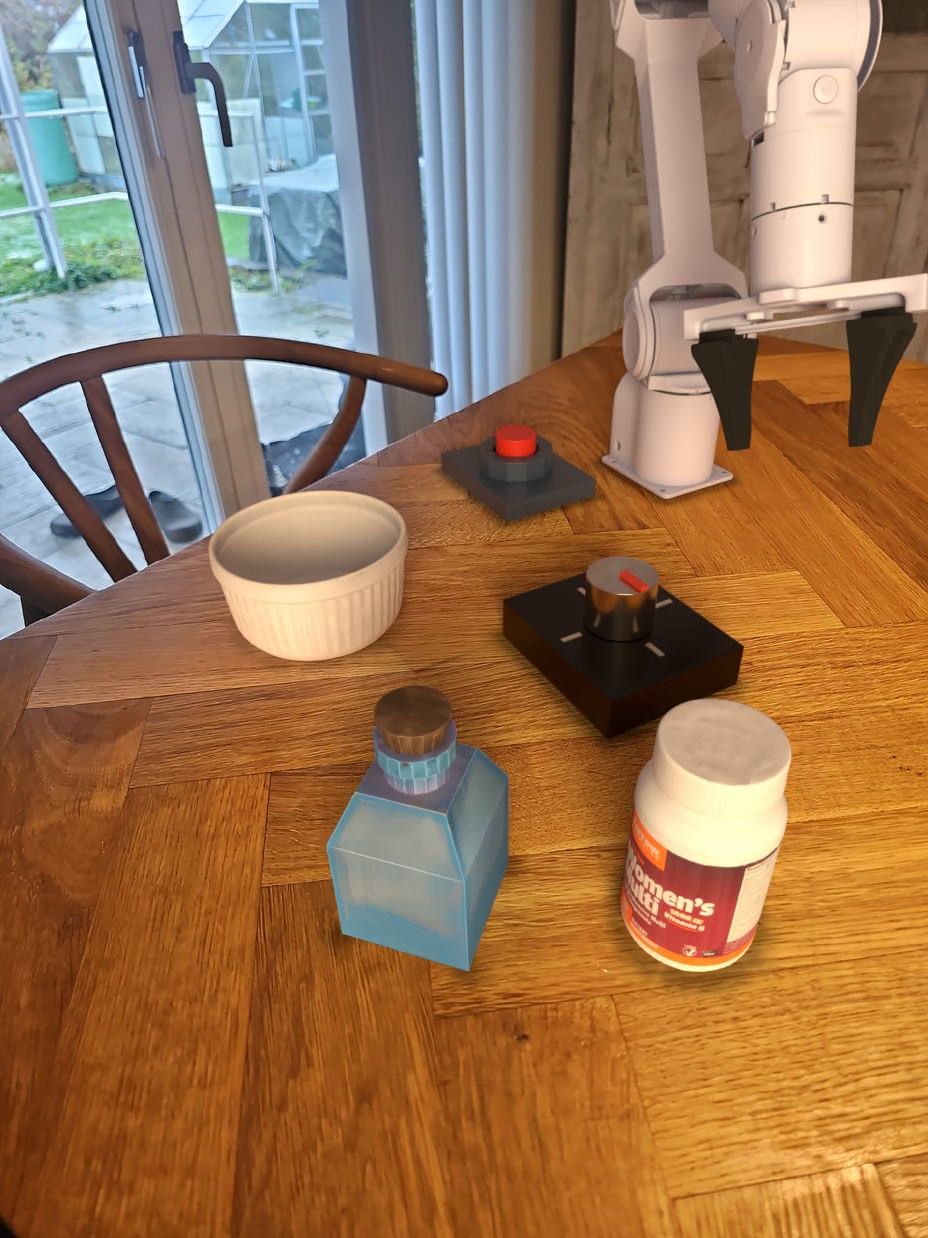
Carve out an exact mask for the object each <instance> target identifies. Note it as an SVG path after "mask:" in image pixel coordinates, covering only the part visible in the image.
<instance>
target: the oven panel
mask: <svg viewBox="0 0 928 1238" xmlns="http://www.w3.org/2000/svg"><path fill="white" fill-rule="evenodd" d="M586 573H587V571H584V572H581V573H577V574H575V575H572V576H568V577H565V578H563V579H560V580H557V581H554V582H551V583H547V584H544V585H542V586H539V587H536V588H533V589H530V590H527V591H524V592H522V593H519V594H514V595H512V596H509V597H506V598H504V599H502V636H503V637H504V638H505V639H506V640H507V641H508V642H509V643H510V644H511V645H512V646H513V647H514V648H515V649H516V650H517V651H518V652H519V653H520V654H521V655H522V656H523V657H524V658H525V659H526V660H527V661H528V662H529V663H530V664H531V665H532V666H533V667H534V668H535V669H536V670H537V671H539V673H540V674H541V675H542V676H543V677H544V678H545V679H546V680H547V681H548V682H550V684H551V685H552V686H553V687H554V688H555V689H556V690H558V691H559V693H560V694H562V696H564V698H566V700H567V701H569V703H570V704H571V705H572V706H573V707H574V708H575V709H577V711H579V713H581V714H582V716H584V717H585V719H586V720H587V721H589V722H590V723H591V724H592V725H593V727H594V728H596V729H597V730H598V731H599V732H600V733H601V734H602V735H603V737H605V738H606V739H607V740H610V739H612V738H615V737H617V736H619V735H622V734H624V733H627V732H628V731H631V730H633V729H636V728H638V727H641V726H642V725H645V724H648V723H650V722H652V721H654V720H656V719H659V718H661V717H664V715H665V714H666V713H667V712H668V711H670V710H671V709H672V708H674V707H676V706H678V705H679V704H682V703H685V702H688V701H692V700H697V699H706V698H708V697H710V696H712V695H715V694H717V693H719V692H721V691H723V690H727V689H729V688H731V687H733V686H735V685H737V684H738V679H739V674H740V670H741V665H742V660H743V654H744V650H745V646H744V645H743V644H742V643H740V642H739V641H738V640H736V639H735V638H734V637H732V636H730V635H729V634H728V633H727V632H725V631H723V630H722V629H721V628H720V627H718V626H717V625H715V624H714V623H713V622H711V621H710V620H709V619H707V618H706V617H704V616H703V615H701V614H700V613H699V612H697V611H696V610H695V609H694V608H692V607H690V606H689V605H687V604H686V603H685V602H683V601H682V600H681V599H680V598H678V597H677V596H675V595H674V594H673V593H671V592H670V591H668V590H667V589H666V588H664V587H663V586H661V585H660V584H658V592H657V600H656V608H655V616H654V624H653V628H652V630H651V631H650V632H649V633H648V634H647V635H646V636H644V637H642V638H640V639H636V640H632V641H612V640H607V639H604V638H601V637H599V636H597V635H595V634H593V633H592V632H591V631H589V630H588V629H587V627H586V626H585V624H584V603H585V587H586Z"/></svg>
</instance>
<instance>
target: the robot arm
mask: <svg viewBox="0 0 928 1238" xmlns="http://www.w3.org/2000/svg"><path fill="white" fill-rule="evenodd" d="M608 1H609V13H610V23H611V29H612V30H613V36H614V37H613V38H614V45H615V47H616V48H618V49H619V50H620V51H621V52H622V53H624V54H625V55H626V56H627V57H629V58H630V59H632V61H633V68H634V75H635V82H636V89H637V95H638V105H639V116H640V126H641V128H640V129H641V139H642V140H641V141H642V150H643V161H644V172H645V173H644V175H645V182H646V183H645V184H646V185H645V186H646V194H647V195H646V196H647V206H648V216H649V227H650V228H649V229H650V239H651V240H650V241H651V250H652V252H651V253H652V261H653V263H652V264H651V265H649V266H648V267H647V268H646V269H645V270H644V271H643V272H642V273H641V274H639V275H638V276H637V277H636V278H635V279H634V280H633V282H631V284H630V286H629V287H628V289H627V292H626V294H625V297H624V299H623V307H622V308H623V325H622V336H621V337H622V338H621V347H622V348H621V349H622V356H623V362H624V365H625V368H626V370H627V372H625V374H624V375H623V376H622V378H621V379H620V381H619V382H618V384H617V386H616V389H615V391H614V396H613V402H612V416H611V429H610V440H609V441H610V443H609V453H608V454H606V455H603V456H601V462H602V463H603V464H605V465H607V466H608V467H609V468H611V469H613V470H615V471H616V472H618V473H619V474H621V475H623V476H624V477H626V478H627V479H630V480H631V481H633V482H635V483H636V484H638V485H639V486H641V487H643V488H645V490H648V491H649V492H651V493H653V494H655V495H656V496H658V497H659V498H661V499H664V500H669V499H673V498H676V497H679V496H682V495H686V494H689V493H692V492H695V491H699V490H701V489H705V488H709V487H712V486H715V485H718V484H722V483H723V482H724V483H725V482H728V481H731V480H732V479H733V478H734V474H733V472H732V471H729V470H727V469H726V468H723V467H722V466H720V465H717V464H715V463H714V462H715V455H716V449H717V442H718V435H719V430H720V424H721V427H722V431H723V436H724V440H725V446H726V451H727V452H738V451H744V450H750V449H751V443H752V391H753V382H754V374H755V366H756V361H757V356H758V351H759V346H760V339H759V338H758V333H765V332H773V331H780V330H781V331H782V330H788V329H789V330H790V329H796V328H804V327H813V326H820V325H827V324H836V323H842V322H845V331H846V340H847V347H848V348H847V349H848V360H849V376H850V377H849V378H850V379H849V380H850V397H849V410H848V423H847V424H848V425H847V437H848V438H847V439H848V448H858V447H860V448H861V447H866V446H872V443H873V438H874V433H875V429H876V425H877V420H878V418H879V413H880V410H881V407H882V404H883V402H884V398H885V396H886V393H887V390H888V387H889V386H890V383H891V381H892V378H893V376H894V373H895V372H896V370H897V367H898V366H899V364H900V361H901V360H902V358H903V356H904V354H905V352H906V351H907V348H908V347H909V346H910V343H911V342H912V340H913V338H914V337H915V334H916V332H917V328H918V323H917V322H914V317H913V315H916V314H923V313H924V314H925V313H928V273H926V272H924V273H917V274H910V275H905V276H904V275H903V276H902V275H901V276H896V277H888V278H879V279H869V280H862V281H853V282H852V265H853V264H852V263H853V262H852V261H853V236H854V235H853V230H854V203H855V173H856V170H855V169H856V141H857V140H856V139H857V138H856V136H857V114H858V113H857V112H858V111H857V109H858V108H857V107H858V93H859V92H860V91H861V89H863V86H864V85H865V83H866V82H867V80H868V78H869V76H870V75H871V72H872V70H873V68H874V65H875V62H876V59H877V55H878V52H879V49H880V48H879V47H880V44H881V39H882V29H883V3H882V0H608ZM723 40H724V41H725V43H726V44H727V45H728V47H729V48H730V49H731V50H732V52H733V53H734V54H735V56H734V57H735V58H734V64H733V82H734V83H733V85H734V89H735V90H734V91H735V93H736V97H737V99H738V101H739V104H740V110H741V133H743V138H744V140H747V141H749V142H750V256H749V257H750V259H749V260H750V261H749V262H750V264H749V265H750V266H749V267H750V268H749V269H750V270H749V272H750V273H749V290H748V285H747V281H746V275H745V273H744V272H743V271H742V270H740V269H739V268H738V267H736V266H735V265H734V264H732V263H731V262H729V261H728V260H726V259H725V258H723V257H721V255H719V254H718V253H717V252H716V251H715V248H714V238H713V237H714V236H713V226H712V215H711V214H712V213H711V204H710V193H709V191H710V190H709V181H708V169H707V160H706V158H707V157H706V148H705V136H704V127H703V124H704V123H703V115H702V104H701V94H700V91H701V90H700V81H699V70H698V64H699V61H700V59H701V57H702V56H704V55H706V54H707V53H708V52H710V51H711V50H713V49H714V48H716V47H717V46H718V45H720V44H721V43H722V42H723ZM748 291H749V292H748ZM822 310H827V311H834V313H825V314H820V315H812V316H805V317H797V318H791V319H790V318H789V319H782V320H775V321H773V320H774V316H782V315H790V314H799V313H800V314H801V313H808V312H816V311H822Z"/></svg>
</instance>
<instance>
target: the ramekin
mask: <svg viewBox="0 0 928 1238" xmlns="http://www.w3.org/2000/svg"><path fill="white" fill-rule="evenodd" d="M408 534H409V533H408V528H407V523H406V520H405V518H404V517H403V515H402V514H401V513H400V512H399V511H398V510H397V509H396V508H395V507H394V506H392V505H391V504H389V503H388V502H386V501H384V500H382V499H379V498H377V497H374V496H371V495H369V494H364V493H358V492H354V491H347V490H338V489H337V490H336V489H335V490H333V489H328V490H326V489H321V490H307V491H298V492H292V493H286V494H282V495H277V496H274V497H269V498H267V499H263V500H261V501H258V502H255V503H252V504H250V505H248V506H246V507H244V508H242V509H240V510H238V511H237V512H235V513H233V514H232V515H230V516H229V517H228V518H226V519H224V521H223V522H221V524H220V525H218V526H217V527H216V529H215V530H214V532H213V534H212V535H211V537H210V539H209V542H208V557H209V563H210V568H211V571H212V573H213V575H214V577H215V578H216V580H217V581H218V582H219V584H220V587H221V589H222V592H223V595H224V599H225V601H226V604H227V606H228V608H229V611H230V614H231V616H232V619H233V621H234V623H235V626H236V627H237V629H238V632H240V634H241V635H242V636H243V637H244V639H245V640H247V641H248V642H249V643H250V644H251V645H253V646H254V647H256V648H258V649H259V650H261V651H263V652H264V653H266V654H268V655H270V656H274V657H277V658H280V659H284V660H288V661H289V660H290V661H297V662H298V661H301V662H316V661H327V660H331V659H332V660H333V659H335V658H340V657H343V656H345V657H346V656H348V655H351V654H354V653H356V652H358V651H360V650H363V649H365V648H366V647H368V646H370V645H371V644H373V643H375V642H376V641H377V640H378V639H380V638H381V637H382V636H383V635H384V634H385V633H386V632H387V631H388V630H389V629H390V627H391V626H393V623H394V622H395V621H396V619H397V617H398V615H399V613H400V611H401V608H402V602H403V596H404V584H405V582H404V581H405V562H406V561H405V557H406V555H407V553H408V548H409V536H408Z"/></svg>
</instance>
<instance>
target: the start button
mask: <svg viewBox="0 0 928 1238" xmlns="http://www.w3.org/2000/svg"><path fill="white" fill-rule="evenodd" d="M536 435H537V431H536V430H535V429H534V428H533V427H531V426H527V425H522V424H521V425H520V424H510V425H505V426H502V427H499V428H498V429H497V430H496V431H495V434H494V436H495V444H496V453H497V454H498V455H501V456H506V457H525V456H529V455H533V454H535V452H536Z"/></svg>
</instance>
